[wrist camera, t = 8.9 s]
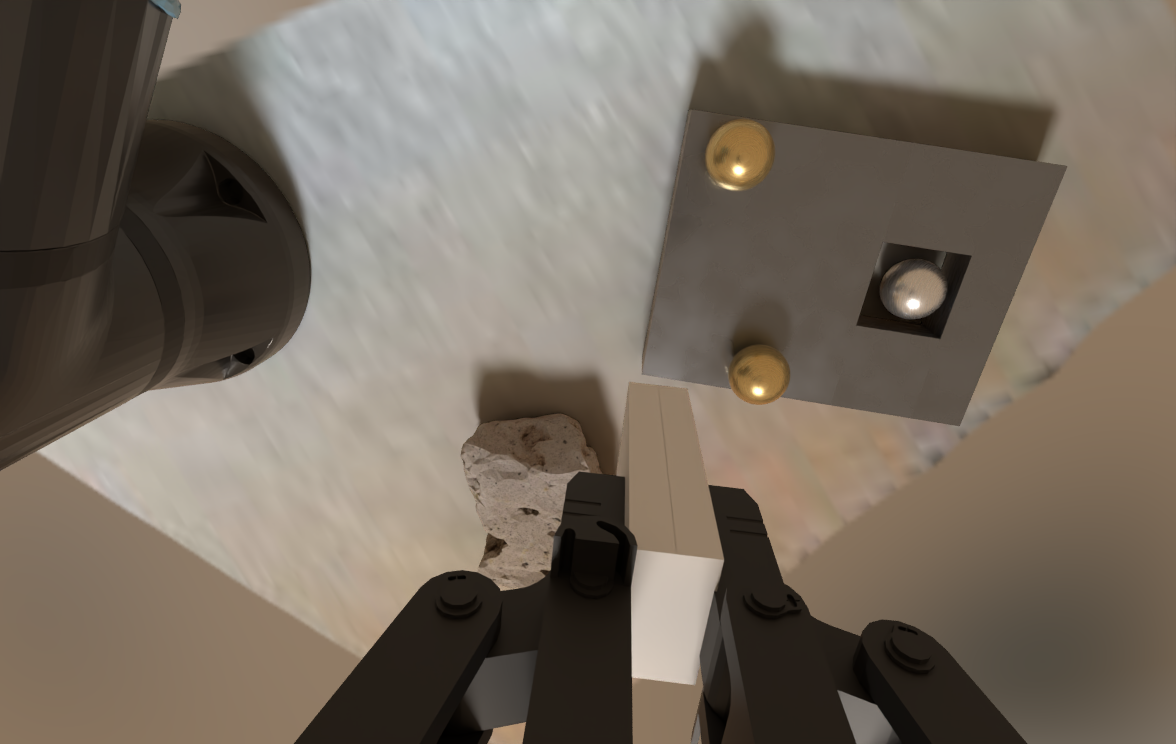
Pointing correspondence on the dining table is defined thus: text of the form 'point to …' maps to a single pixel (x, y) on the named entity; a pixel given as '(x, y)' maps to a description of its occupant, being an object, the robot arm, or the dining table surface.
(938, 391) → the plate
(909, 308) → the steel ball
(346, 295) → the dining table surface
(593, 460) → the stone
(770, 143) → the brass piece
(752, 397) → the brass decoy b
